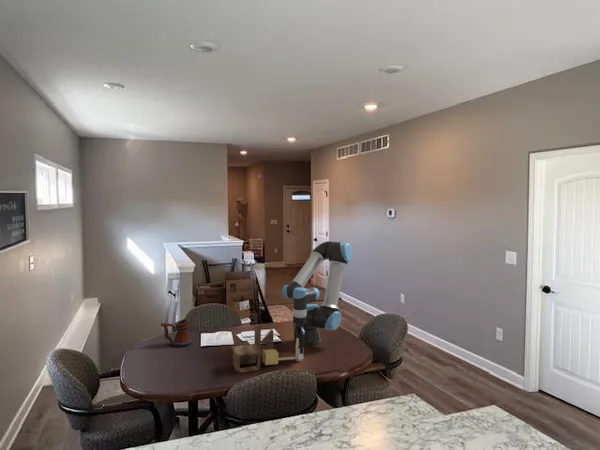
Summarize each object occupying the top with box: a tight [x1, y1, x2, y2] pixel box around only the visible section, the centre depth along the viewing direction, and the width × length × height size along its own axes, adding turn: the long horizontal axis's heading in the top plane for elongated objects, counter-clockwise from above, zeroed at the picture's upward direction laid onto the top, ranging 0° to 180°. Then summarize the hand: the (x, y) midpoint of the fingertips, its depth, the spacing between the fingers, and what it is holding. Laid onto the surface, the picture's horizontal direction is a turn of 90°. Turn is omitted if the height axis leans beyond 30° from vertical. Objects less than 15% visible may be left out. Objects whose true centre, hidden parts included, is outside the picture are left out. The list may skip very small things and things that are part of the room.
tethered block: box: [262, 338, 303, 366], centre depth 231 cm, size 22×6×12 cm, turn 110°
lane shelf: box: [231, 343, 261, 374], centre depth 224 cm, size 13×12×10 cm
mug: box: [160, 318, 193, 348], centre depth 258 cm, size 18×12×15 cm, turn 108°
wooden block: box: [254, 323, 274, 358], centre depth 241 cm, size 4×11×18 cm, turn 111°
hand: (299, 357), depth 235 cm, fingers closed on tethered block, 4 cm apart
